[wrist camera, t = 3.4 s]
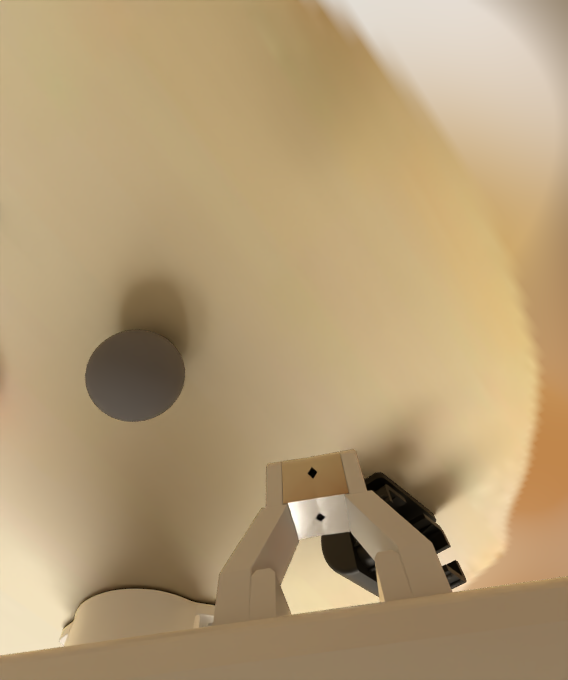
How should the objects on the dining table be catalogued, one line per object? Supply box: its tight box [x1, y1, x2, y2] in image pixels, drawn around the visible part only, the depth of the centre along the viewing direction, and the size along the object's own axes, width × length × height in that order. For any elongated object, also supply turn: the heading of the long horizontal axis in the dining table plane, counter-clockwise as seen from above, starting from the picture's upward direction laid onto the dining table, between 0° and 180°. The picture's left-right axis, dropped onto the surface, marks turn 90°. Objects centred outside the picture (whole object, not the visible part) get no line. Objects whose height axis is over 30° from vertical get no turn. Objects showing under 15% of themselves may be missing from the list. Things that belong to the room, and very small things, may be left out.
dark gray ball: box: [85, 330, 185, 422], centre depth 21 cm, size 6×6×6 cm
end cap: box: [321, 472, 466, 597], centre depth 29 cm, size 10×7×7 cm
